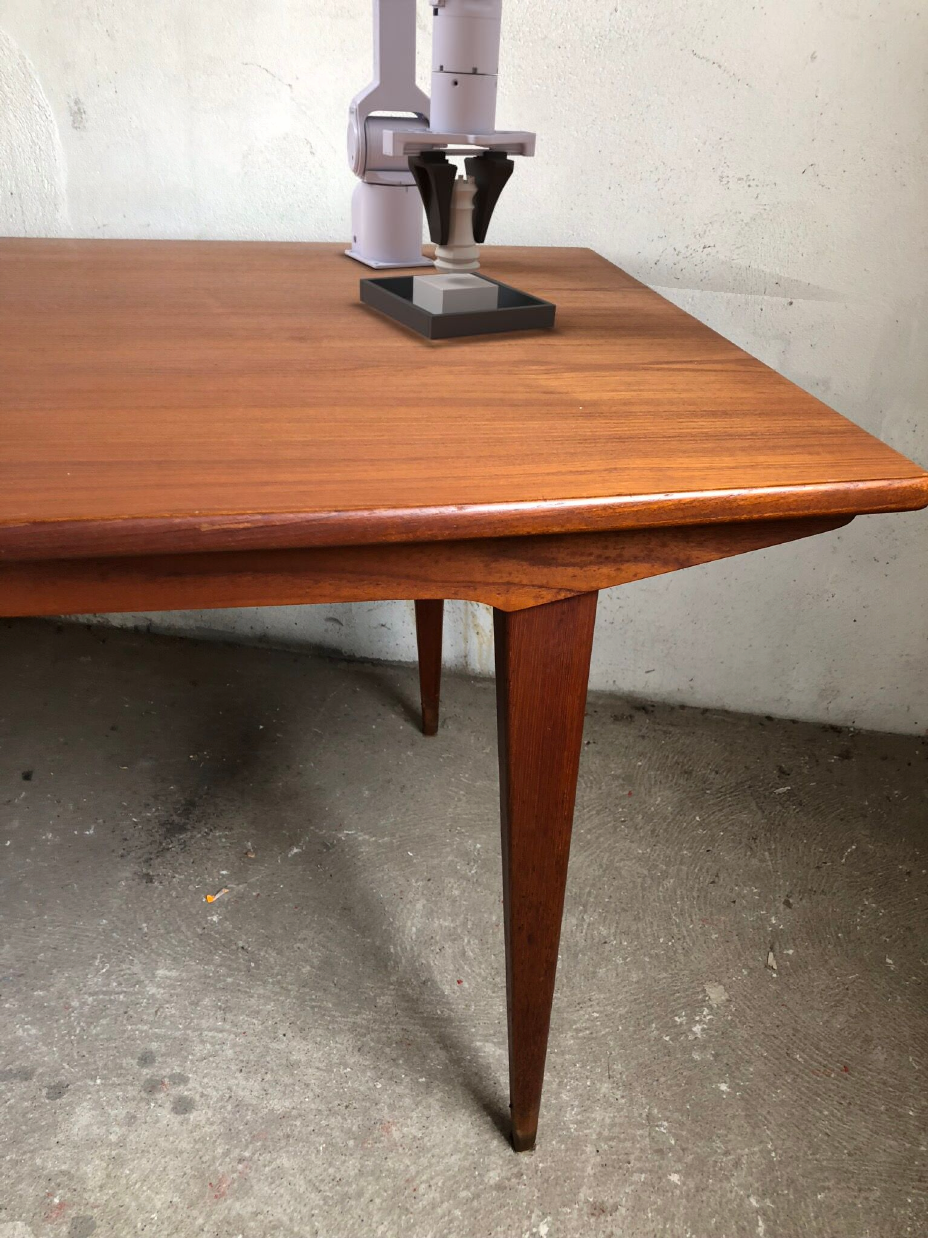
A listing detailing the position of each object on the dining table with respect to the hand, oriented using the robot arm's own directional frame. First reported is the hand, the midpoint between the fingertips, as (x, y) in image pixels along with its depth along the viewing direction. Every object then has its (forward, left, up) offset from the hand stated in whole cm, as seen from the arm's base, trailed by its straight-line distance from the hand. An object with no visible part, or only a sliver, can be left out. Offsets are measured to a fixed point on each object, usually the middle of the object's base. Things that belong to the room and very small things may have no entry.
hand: (457, 242), depth 85 cm
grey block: (0, 0, -6) cm, 6 cm away
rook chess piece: (0, 0, -3) cm, 3 cm away
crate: (0, 0, -7) cm, 7 cm away
